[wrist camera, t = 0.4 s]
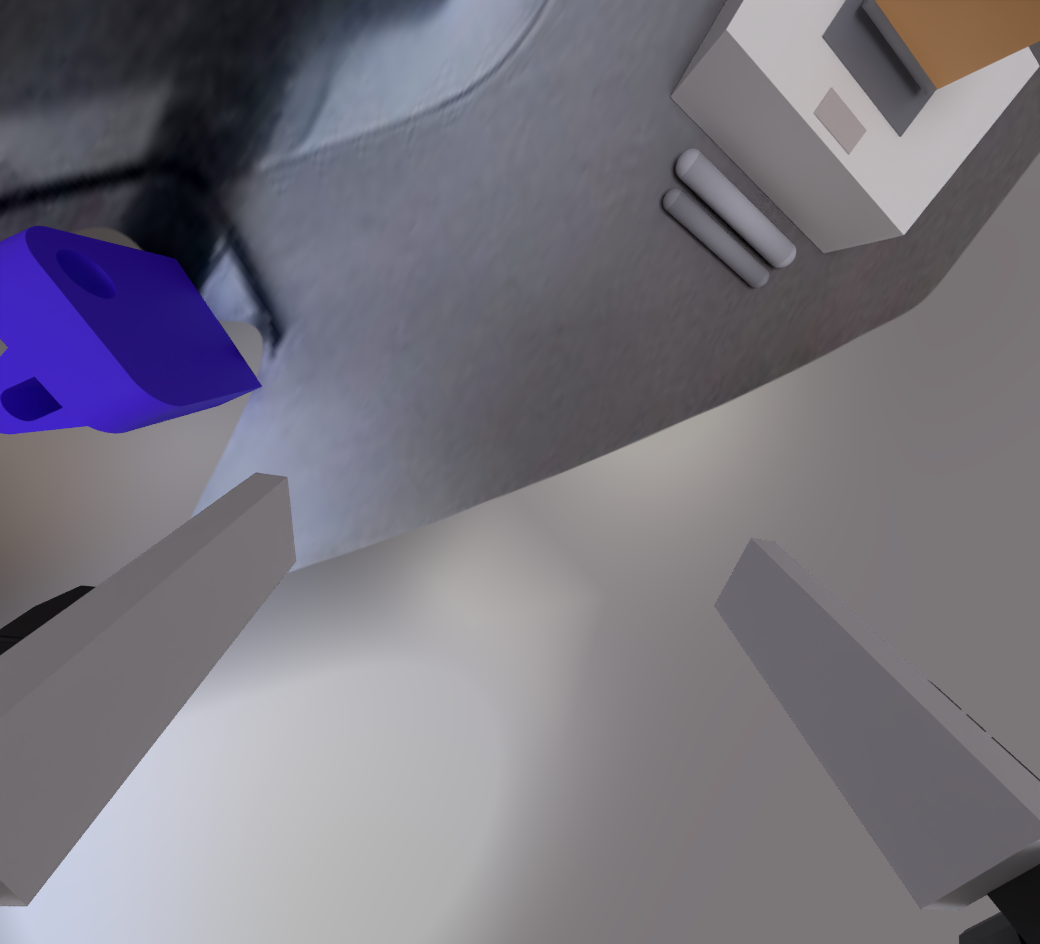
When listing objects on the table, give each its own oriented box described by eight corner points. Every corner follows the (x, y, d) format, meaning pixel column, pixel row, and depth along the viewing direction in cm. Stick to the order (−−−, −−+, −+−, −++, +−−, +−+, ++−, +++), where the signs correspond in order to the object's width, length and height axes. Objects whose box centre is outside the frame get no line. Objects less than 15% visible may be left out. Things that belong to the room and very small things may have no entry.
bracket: (177, 259, 29) (-1, 215, 18) (262, 386, 33) (159, 412, 22) (-18, 348, 30) (-303, 356, 19) (89, 462, 34) (-95, 523, 23)
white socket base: (823, 253, 35) (905, 234, 28) (670, 97, 29) (727, 28, 23) (924, 120, 32) (1041, 64, 25) (774, -82, 26) (875, -222, 20)
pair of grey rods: (757, 296, 35) (772, 294, 34) (650, 200, 32) (661, 192, 30) (788, 254, 34) (806, 249, 32) (681, 149, 30) (694, 137, 29)
